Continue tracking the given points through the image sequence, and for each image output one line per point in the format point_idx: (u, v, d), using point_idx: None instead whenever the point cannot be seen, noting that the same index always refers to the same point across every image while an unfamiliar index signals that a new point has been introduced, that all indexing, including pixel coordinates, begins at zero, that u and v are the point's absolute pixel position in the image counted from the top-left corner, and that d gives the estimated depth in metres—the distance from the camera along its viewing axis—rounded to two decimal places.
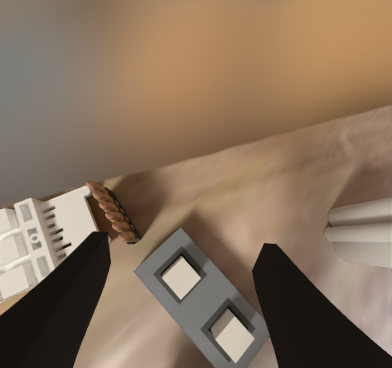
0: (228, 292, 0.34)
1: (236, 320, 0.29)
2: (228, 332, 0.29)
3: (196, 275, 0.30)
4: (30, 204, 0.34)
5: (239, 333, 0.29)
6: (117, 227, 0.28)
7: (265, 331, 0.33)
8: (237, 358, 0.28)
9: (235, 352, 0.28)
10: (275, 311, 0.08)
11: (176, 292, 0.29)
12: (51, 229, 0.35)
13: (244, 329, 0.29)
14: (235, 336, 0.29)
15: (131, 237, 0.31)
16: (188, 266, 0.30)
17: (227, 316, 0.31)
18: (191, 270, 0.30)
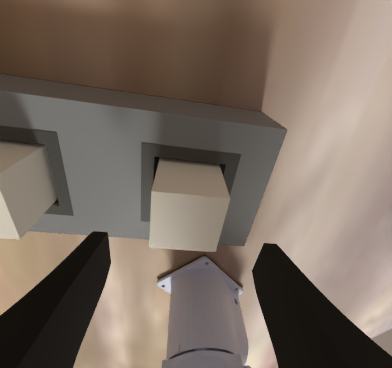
0: (132, 131, 0.12)
1: (162, 195, 0.10)
2: (163, 224, 0.11)
3: None
4: None
5: (187, 212, 0.11)
6: None
7: (267, 144, 0.13)
8: (214, 245, 0.12)
9: (203, 241, 0.12)
10: (275, 311, 0.08)
11: None
12: None
13: (194, 198, 0.11)
14: (184, 219, 0.11)
15: None
16: None
17: None
18: None
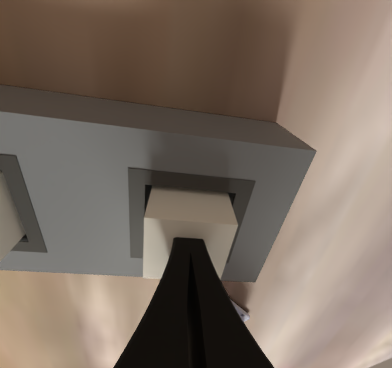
0: (116, 154, 0.09)
1: (157, 222, 0.09)
2: (159, 253, 0.10)
3: None
4: None
5: None
6: None
7: (289, 169, 0.10)
8: None
9: None
10: (188, 308, 0.08)
11: None
12: None
13: (195, 225, 0.09)
14: None
15: None
16: None
17: None
18: None
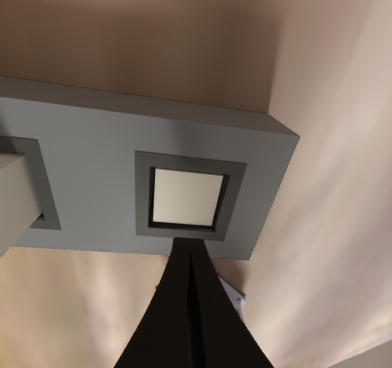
0: (124, 139, 0.11)
1: (165, 173, 0.12)
2: (166, 199, 0.13)
3: None
4: None
5: (186, 188, 0.13)
6: None
7: (276, 153, 0.11)
8: (209, 219, 0.14)
9: (200, 215, 0.14)
10: (188, 308, 0.08)
11: None
12: None
13: (192, 175, 0.12)
14: (183, 195, 0.13)
15: None
16: None
17: None
18: None
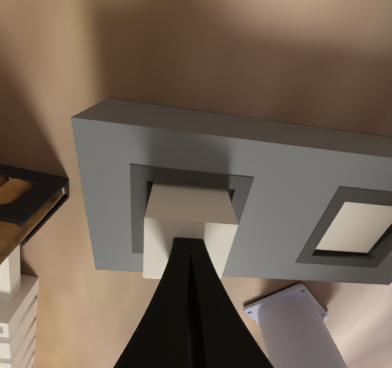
0: (336, 175, 0.11)
1: (351, 205, 0.12)
2: (338, 229, 0.13)
3: (220, 227, 0.09)
4: None
5: (363, 218, 0.13)
6: None
7: None
8: (369, 246, 0.14)
9: (362, 243, 0.14)
10: (188, 308, 0.08)
11: None
12: None
13: (375, 207, 0.12)
14: (357, 225, 0.13)
15: None
16: (180, 224, 0.09)
17: None
18: (197, 226, 0.09)
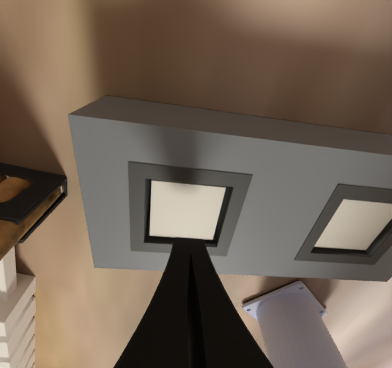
0: (334, 173, 0.11)
1: (349, 202, 0.12)
2: (336, 226, 0.13)
3: (211, 190, 0.11)
4: None
5: (361, 216, 0.13)
6: None
7: None
8: (367, 244, 0.14)
9: (361, 240, 0.14)
10: (188, 308, 0.08)
11: (195, 236, 0.13)
12: None
13: (373, 205, 0.12)
14: (355, 222, 0.13)
15: None
16: (180, 187, 0.11)
17: None
18: (193, 189, 0.11)
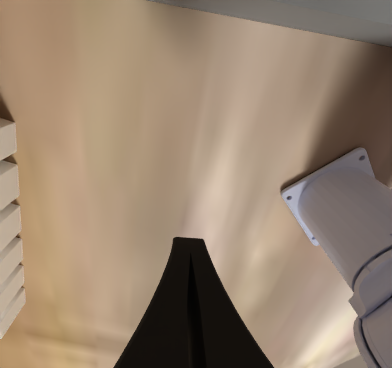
0: None
1: None
2: None
3: None
4: None
5: None
6: None
7: None
8: None
9: None
10: (188, 308, 0.08)
11: None
12: None
13: None
14: None
15: None
16: None
17: None
18: None
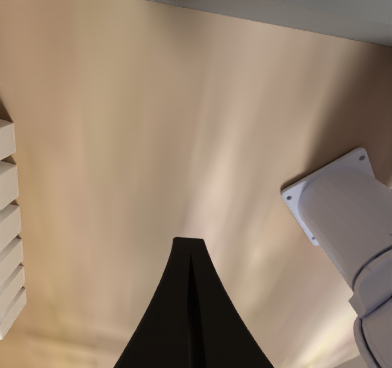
0: None
1: None
2: None
3: None
4: None
5: None
6: None
7: None
8: None
9: None
10: (188, 308, 0.08)
11: None
12: None
13: None
14: None
15: None
16: None
17: None
18: None
